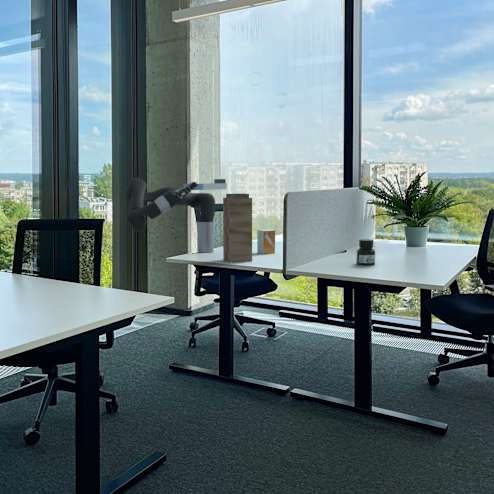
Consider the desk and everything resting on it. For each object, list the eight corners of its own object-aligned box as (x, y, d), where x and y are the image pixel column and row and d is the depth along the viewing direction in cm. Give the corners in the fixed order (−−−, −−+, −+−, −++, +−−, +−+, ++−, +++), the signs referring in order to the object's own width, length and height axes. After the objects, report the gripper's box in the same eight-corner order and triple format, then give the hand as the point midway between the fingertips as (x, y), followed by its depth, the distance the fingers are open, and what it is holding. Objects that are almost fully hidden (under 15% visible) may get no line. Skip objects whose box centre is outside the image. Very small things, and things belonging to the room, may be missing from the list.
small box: (263, 254, 300) (263, 230, 298) (257, 253, 305) (257, 230, 303) (275, 253, 304) (275, 230, 302) (268, 251, 309) (268, 229, 308)
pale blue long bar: (183, 190, 264) (183, 179, 263) (224, 189, 271) (224, 179, 270) (185, 190, 261) (184, 179, 260) (226, 189, 268) (226, 179, 268)
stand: (223, 259, 281) (223, 193, 276) (245, 258, 285) (245, 193, 281) (229, 262, 272) (229, 194, 267) (252, 261, 276) (252, 194, 271)
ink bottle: (359, 265, 262) (360, 241, 261) (352, 263, 271) (353, 239, 269) (378, 265, 264) (379, 240, 263) (371, 262, 273) (371, 238, 271)
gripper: (166, 208, 268) (195, 189, 272) (173, 210, 255) (203, 190, 259) (158, 195, 265) (187, 176, 269) (164, 196, 252) (195, 177, 256)
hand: (195, 183), depth 264 cm, fingers closed on pale blue long bar, 3 cm apart
